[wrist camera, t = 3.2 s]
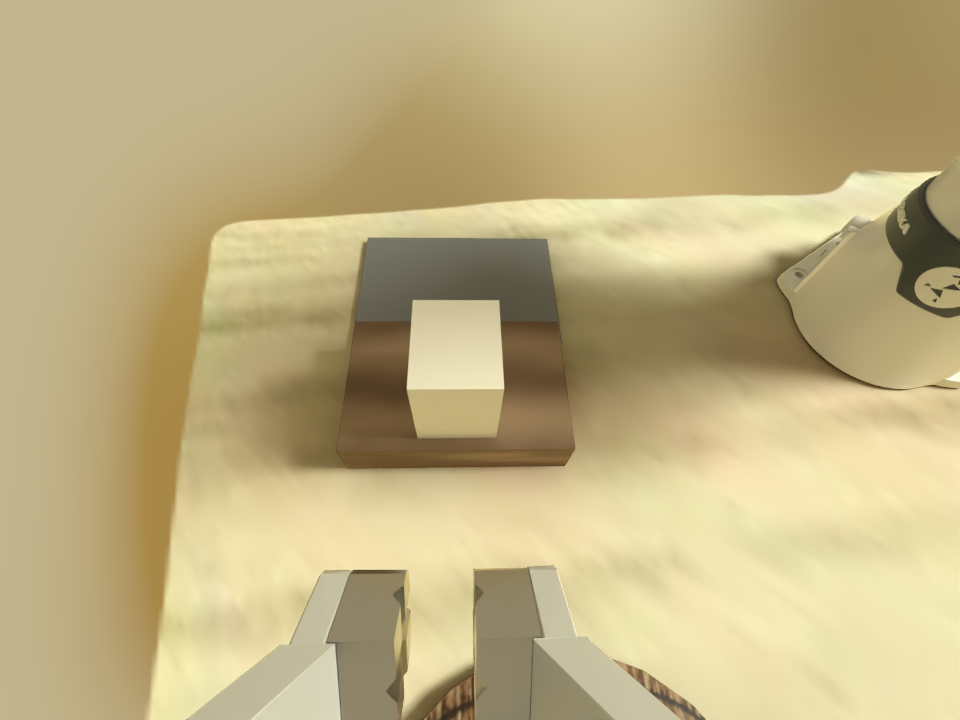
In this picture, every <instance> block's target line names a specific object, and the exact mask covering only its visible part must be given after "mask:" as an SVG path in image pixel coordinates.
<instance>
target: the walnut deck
mask: <svg viewBox="0 0 960 720" xmlns="http://www.w3.org/2000/svg"><path fill="white" fill-rule="evenodd" d="M500 324H501V341H502V358H503V375H504V394H503V400H502V406H501V412H500V418H499V424H498V430H497V436H496V438H421V439H418V438H417V433H416V429H415V424H414V420H413V416H412V411H411V407H410V402H409V398H408V393H407V377H408V362H409V348H410V333H411V321H356V323H355V329H354V336H353V343H352V349H351V356H350V363H349V370H348V376H347V383H346V390H345V397H344V403H343V410H342V417H341V424H340V430H339V437H338V444H337V453H338V454H339V456H340V457H341V459H342V460H343V462H344V463H345V465H346V466H347V468H416V467H495V466H565V465H566V463H567V462H568V460H569V458H570V457H571V455H572V453H573V451H574V450H575V444H574V437H573V429H572V422H571V415H570V408H569V401H568V394H567V386H566V379H565V372H564V365H563V358H562V351H561V343H560V336H559V329H558V322H557V321H500Z"/></svg>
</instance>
